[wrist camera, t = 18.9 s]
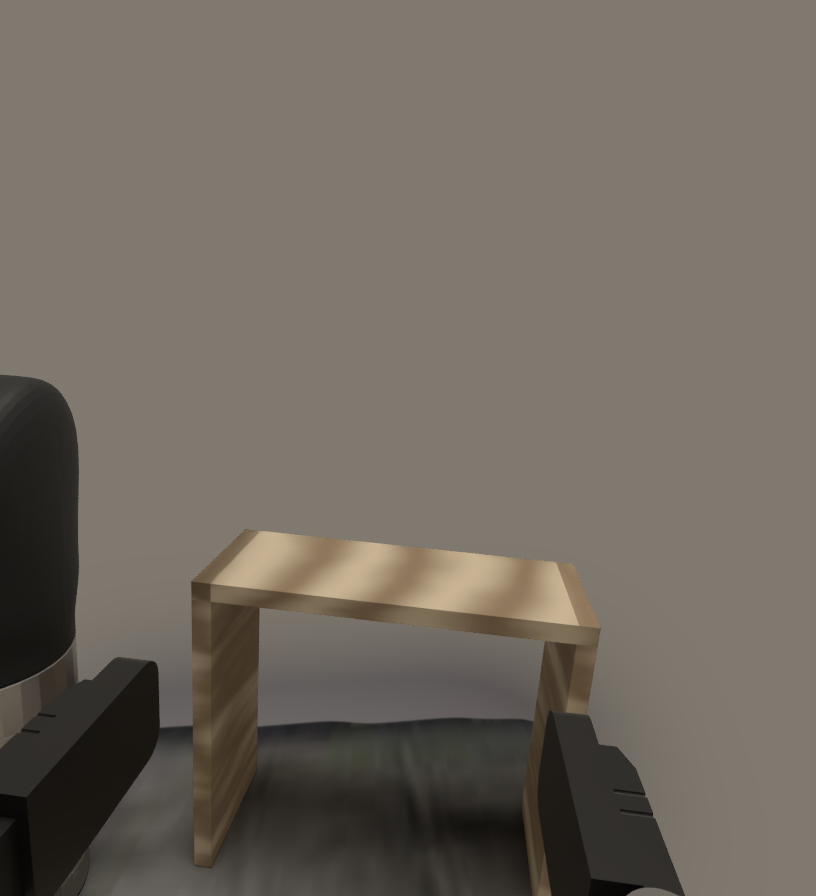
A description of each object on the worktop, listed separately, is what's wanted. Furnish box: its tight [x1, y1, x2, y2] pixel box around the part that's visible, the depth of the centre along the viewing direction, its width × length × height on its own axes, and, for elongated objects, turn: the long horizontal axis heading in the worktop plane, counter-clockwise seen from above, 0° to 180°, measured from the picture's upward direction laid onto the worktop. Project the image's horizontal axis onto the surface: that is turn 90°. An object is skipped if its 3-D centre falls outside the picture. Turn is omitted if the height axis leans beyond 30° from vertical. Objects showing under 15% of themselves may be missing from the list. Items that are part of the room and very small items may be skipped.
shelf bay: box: [191, 529, 601, 896], centre depth 41 cm, size 24×9×21 cm, turn 84°
